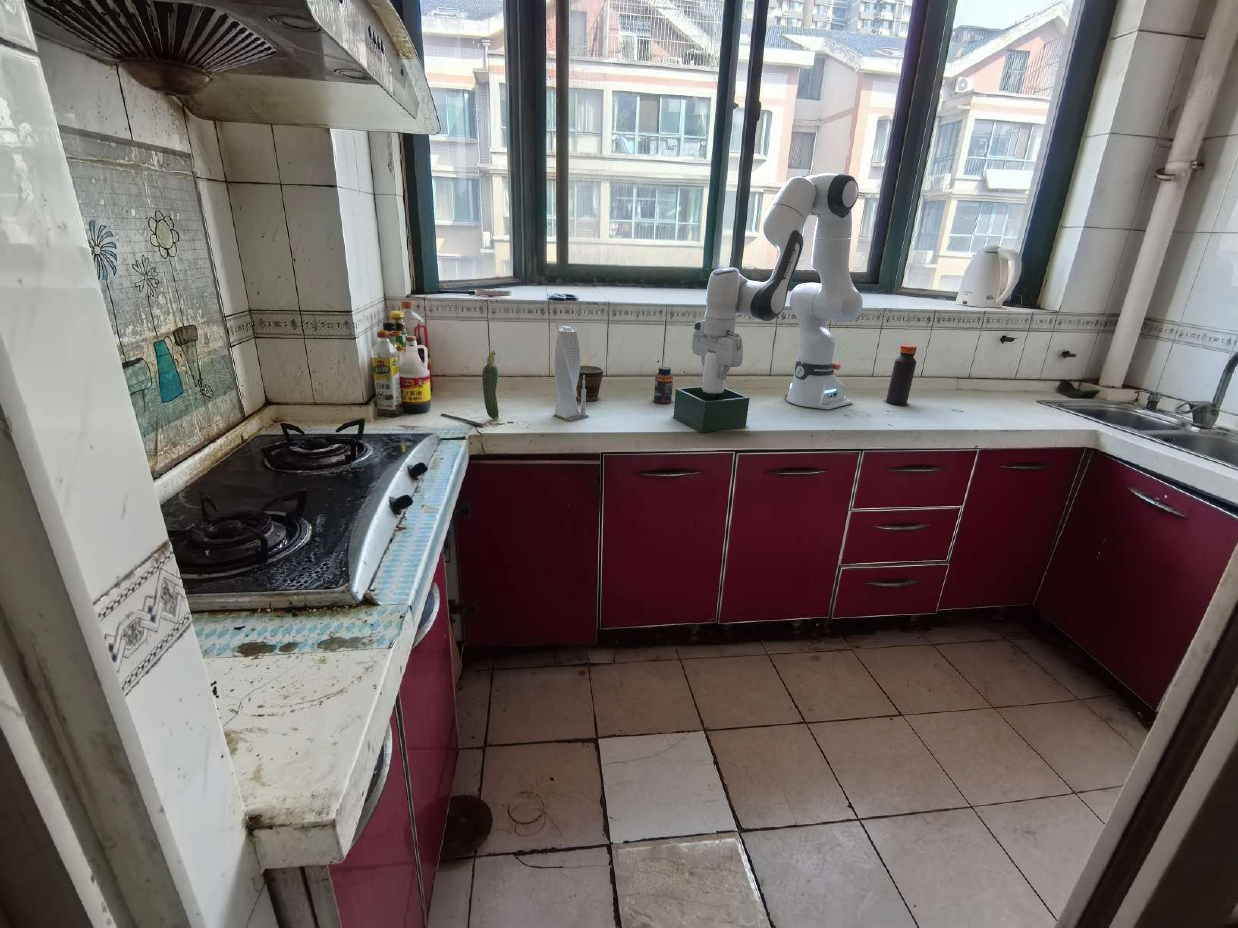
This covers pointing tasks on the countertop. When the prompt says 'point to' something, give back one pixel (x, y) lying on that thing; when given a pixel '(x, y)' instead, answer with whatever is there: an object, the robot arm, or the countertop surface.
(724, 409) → the bin
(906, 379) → the vinegar
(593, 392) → the ceramic cup
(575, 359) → the skyscraper
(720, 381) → the can
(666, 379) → the supplement bottle
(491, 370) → the vegetable
